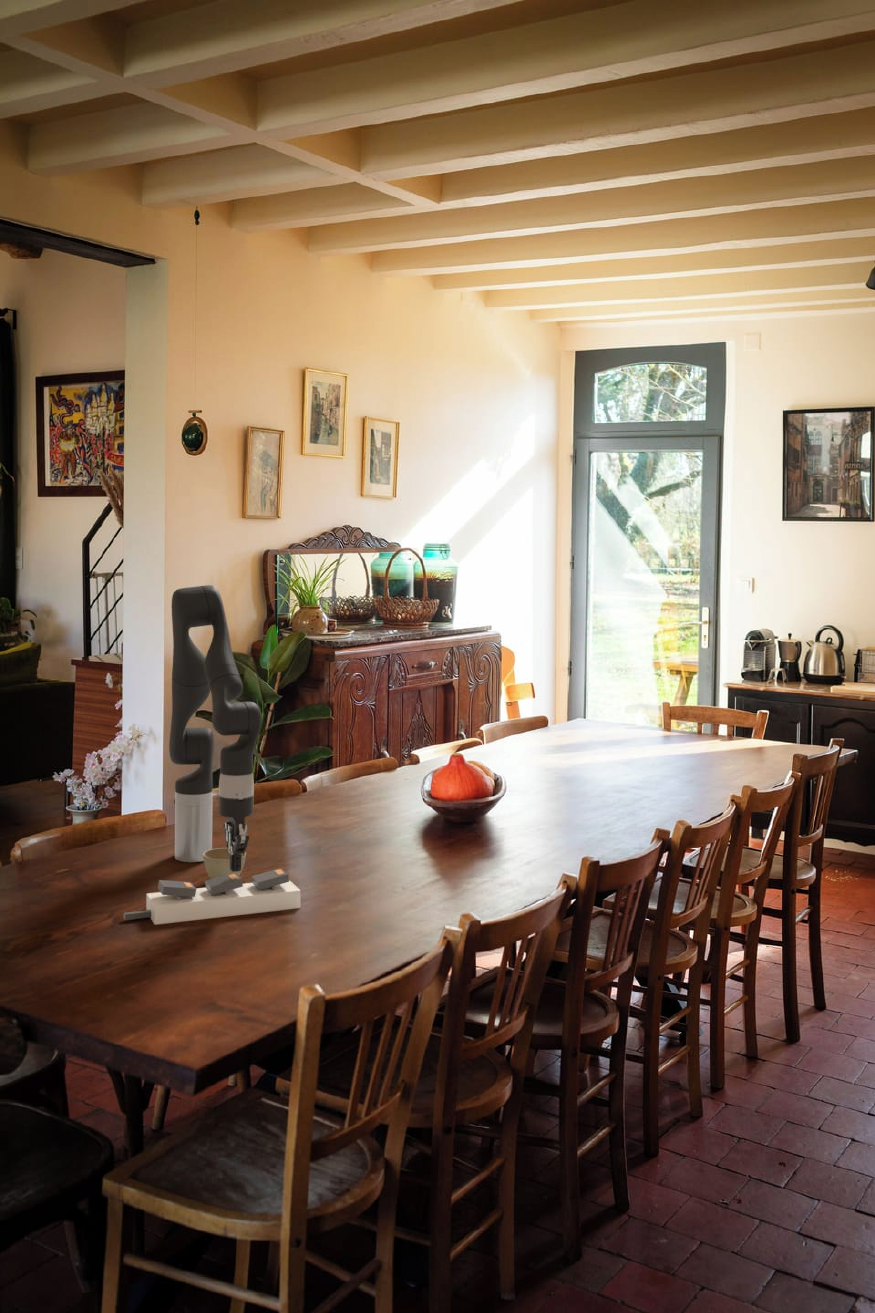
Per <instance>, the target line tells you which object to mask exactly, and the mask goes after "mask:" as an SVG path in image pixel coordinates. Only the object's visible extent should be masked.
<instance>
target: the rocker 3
mask: <svg viewBox="0 0 875 1313" xmlns="http://www.w3.org/2000/svg"><path fill="white" fill-rule="evenodd" d="M289 880H290V879H289V874H288V872H287V871H285V870H284V869H283V868H282V867H280V868H276V869H272V870H269V871H265V872H261V873H258V874H255V875H251V883H253V885H254V886H255V887H256V888H257V889H258V890H262V889H265V888H269V887H272V886H276V885H279V884H283V883H287V882H289Z"/></svg>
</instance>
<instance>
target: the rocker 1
mask: <svg viewBox="0 0 875 1313" xmlns="http://www.w3.org/2000/svg"><path fill="white" fill-rule="evenodd" d="M157 885H158V886H157V889H158V892H161V893H162V895H171V896H186V897H195V894H196V888H197V887H196V886H195V885H194V884H193V883H192V881H179V880H164V879H163V880H162V879H159V880H158V884H157Z"/></svg>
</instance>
